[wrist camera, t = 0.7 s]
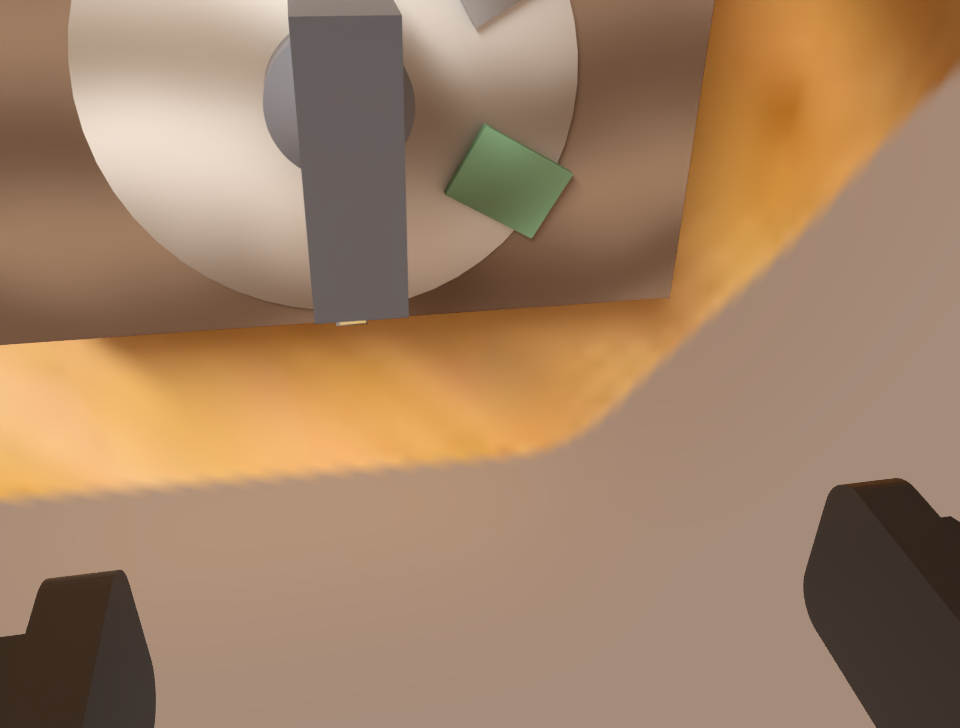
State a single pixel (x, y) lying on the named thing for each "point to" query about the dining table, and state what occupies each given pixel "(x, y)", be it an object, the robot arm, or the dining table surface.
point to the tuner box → (278, 182)
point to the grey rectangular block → (347, 150)
